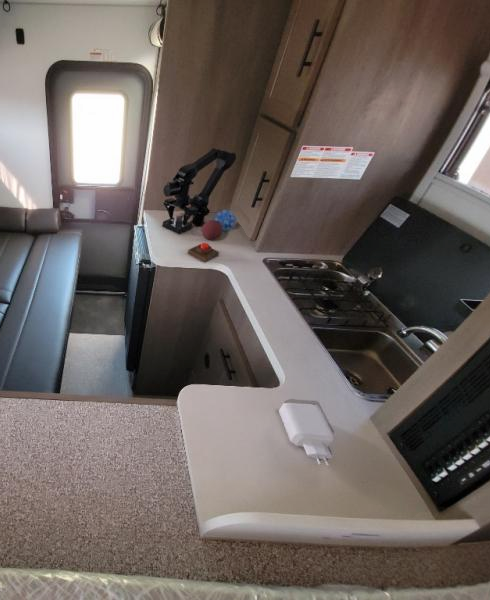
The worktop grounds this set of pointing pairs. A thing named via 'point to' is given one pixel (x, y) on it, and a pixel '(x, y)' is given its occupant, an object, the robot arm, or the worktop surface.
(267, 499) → the worktop surface
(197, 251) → the block
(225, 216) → the blue bumpy cluster
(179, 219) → the dial
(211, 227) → the decorative ball
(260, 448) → the worktop surface
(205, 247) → the power button
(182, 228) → the dial panel
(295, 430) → the charger
